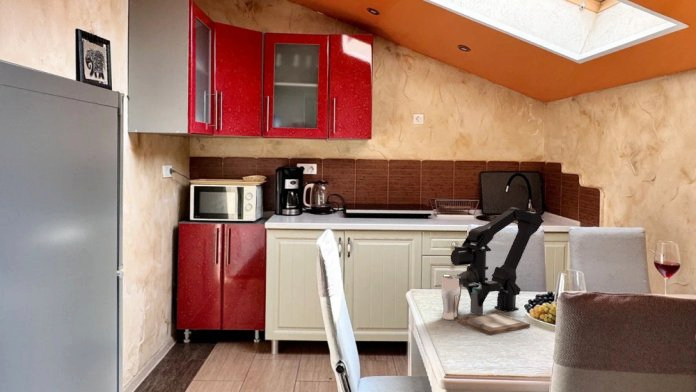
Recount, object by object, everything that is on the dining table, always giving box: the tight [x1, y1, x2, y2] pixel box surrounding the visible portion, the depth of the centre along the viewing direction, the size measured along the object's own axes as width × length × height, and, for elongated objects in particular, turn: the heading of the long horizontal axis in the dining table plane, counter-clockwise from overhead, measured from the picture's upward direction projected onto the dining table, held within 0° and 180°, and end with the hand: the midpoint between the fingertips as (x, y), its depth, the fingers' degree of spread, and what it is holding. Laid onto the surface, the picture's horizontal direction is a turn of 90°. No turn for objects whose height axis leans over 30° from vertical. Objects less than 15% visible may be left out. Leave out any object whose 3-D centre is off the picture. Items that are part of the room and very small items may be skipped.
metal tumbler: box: [440, 274, 462, 322], centre depth 205 cm, size 7×7×15 cm
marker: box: [469, 287, 484, 316], centre depth 212 cm, size 3×3×9 cm
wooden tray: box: [457, 311, 531, 336], centre depth 198 cm, size 18×16×2 cm
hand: (476, 305), depth 212 cm, fingers closed on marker, 3 cm apart
